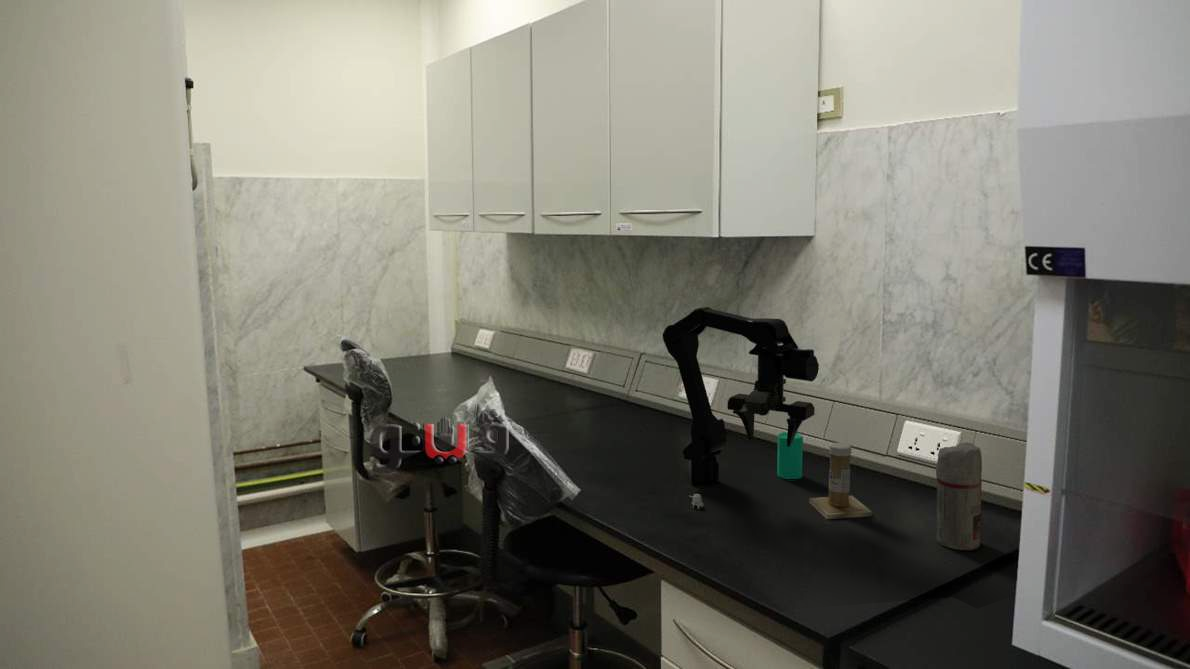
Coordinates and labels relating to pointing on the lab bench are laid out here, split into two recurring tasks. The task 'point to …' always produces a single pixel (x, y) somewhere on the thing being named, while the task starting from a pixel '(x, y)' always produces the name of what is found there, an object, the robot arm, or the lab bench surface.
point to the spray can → (959, 496)
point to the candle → (789, 457)
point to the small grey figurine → (697, 500)
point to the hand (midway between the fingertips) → (769, 443)
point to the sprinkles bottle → (839, 474)
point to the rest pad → (840, 508)
